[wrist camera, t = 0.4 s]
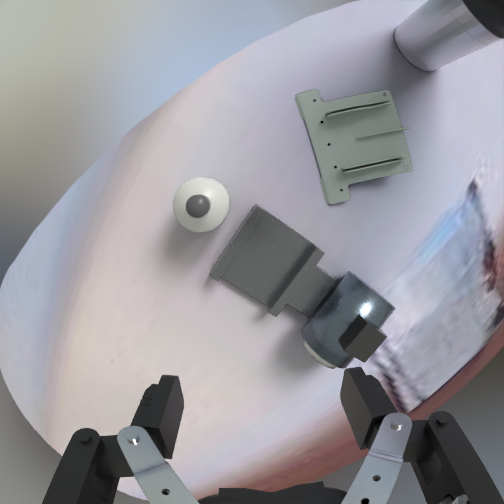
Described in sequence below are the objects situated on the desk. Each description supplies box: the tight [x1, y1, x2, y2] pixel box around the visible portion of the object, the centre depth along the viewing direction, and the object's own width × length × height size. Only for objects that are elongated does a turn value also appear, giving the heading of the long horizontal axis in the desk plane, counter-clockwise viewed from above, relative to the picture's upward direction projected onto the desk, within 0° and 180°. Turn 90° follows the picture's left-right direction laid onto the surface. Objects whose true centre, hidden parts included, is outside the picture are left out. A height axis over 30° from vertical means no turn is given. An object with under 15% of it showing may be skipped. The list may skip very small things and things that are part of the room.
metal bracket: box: [295, 90, 413, 205], centre depth 32 cm, size 14×6×15 cm
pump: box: [173, 177, 231, 233], centre depth 30 cm, size 6×6×9 cm
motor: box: [209, 204, 396, 369], centre depth 32 cm, size 11×22×10 cm, turn 55°
